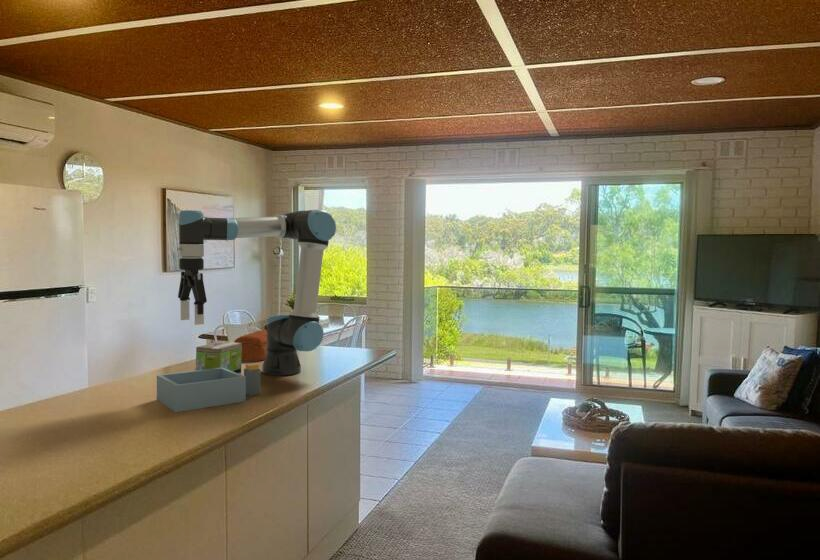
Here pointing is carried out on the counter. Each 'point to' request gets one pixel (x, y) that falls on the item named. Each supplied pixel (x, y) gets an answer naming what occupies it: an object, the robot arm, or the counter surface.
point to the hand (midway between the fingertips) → (192, 322)
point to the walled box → (200, 389)
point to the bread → (253, 346)
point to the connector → (252, 379)
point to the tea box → (219, 356)
